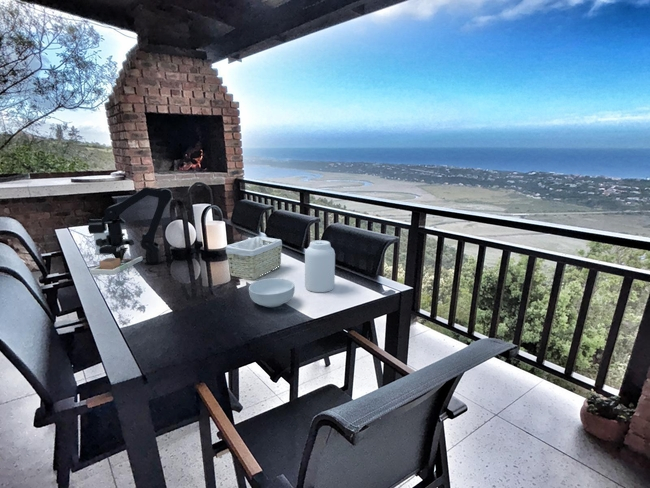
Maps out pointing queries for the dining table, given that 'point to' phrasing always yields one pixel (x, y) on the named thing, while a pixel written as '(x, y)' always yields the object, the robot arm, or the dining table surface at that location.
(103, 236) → the supplement box
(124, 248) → the robot arm
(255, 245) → the storage basket
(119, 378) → the dining table surface
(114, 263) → the block
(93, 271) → the trap lane
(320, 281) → the white jar
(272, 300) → the cereal bowl
